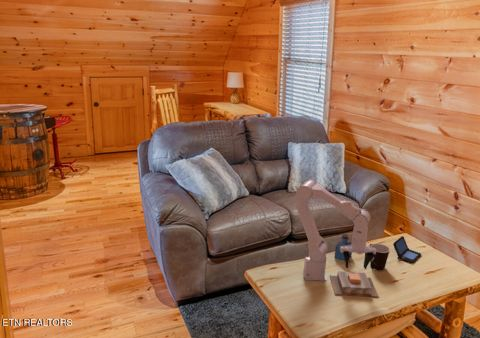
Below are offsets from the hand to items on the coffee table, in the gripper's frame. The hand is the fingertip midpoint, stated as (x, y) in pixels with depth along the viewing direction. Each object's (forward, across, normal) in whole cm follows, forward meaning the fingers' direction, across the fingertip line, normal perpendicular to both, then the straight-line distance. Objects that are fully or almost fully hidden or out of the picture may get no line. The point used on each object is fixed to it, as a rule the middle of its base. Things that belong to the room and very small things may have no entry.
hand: (355, 267), depth 174 cm
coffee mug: (+10, +15, +19) cm, 26 cm away
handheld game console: (+10, +32, +30) cm, 45 cm away
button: (+7, 0, 0) cm, 7 cm away
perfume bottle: (+10, 0, +25) cm, 27 cm away
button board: (+9, 0, 0) cm, 9 cm away
